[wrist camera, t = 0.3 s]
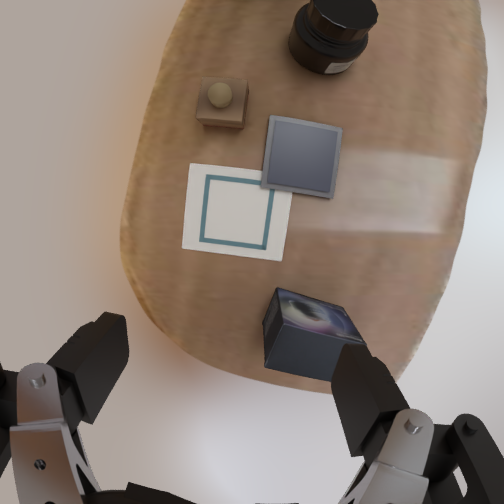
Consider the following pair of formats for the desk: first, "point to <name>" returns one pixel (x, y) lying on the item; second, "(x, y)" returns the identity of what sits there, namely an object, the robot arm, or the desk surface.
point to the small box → (305, 335)
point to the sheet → (234, 213)
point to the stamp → (222, 102)
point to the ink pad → (301, 156)
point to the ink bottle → (331, 34)
